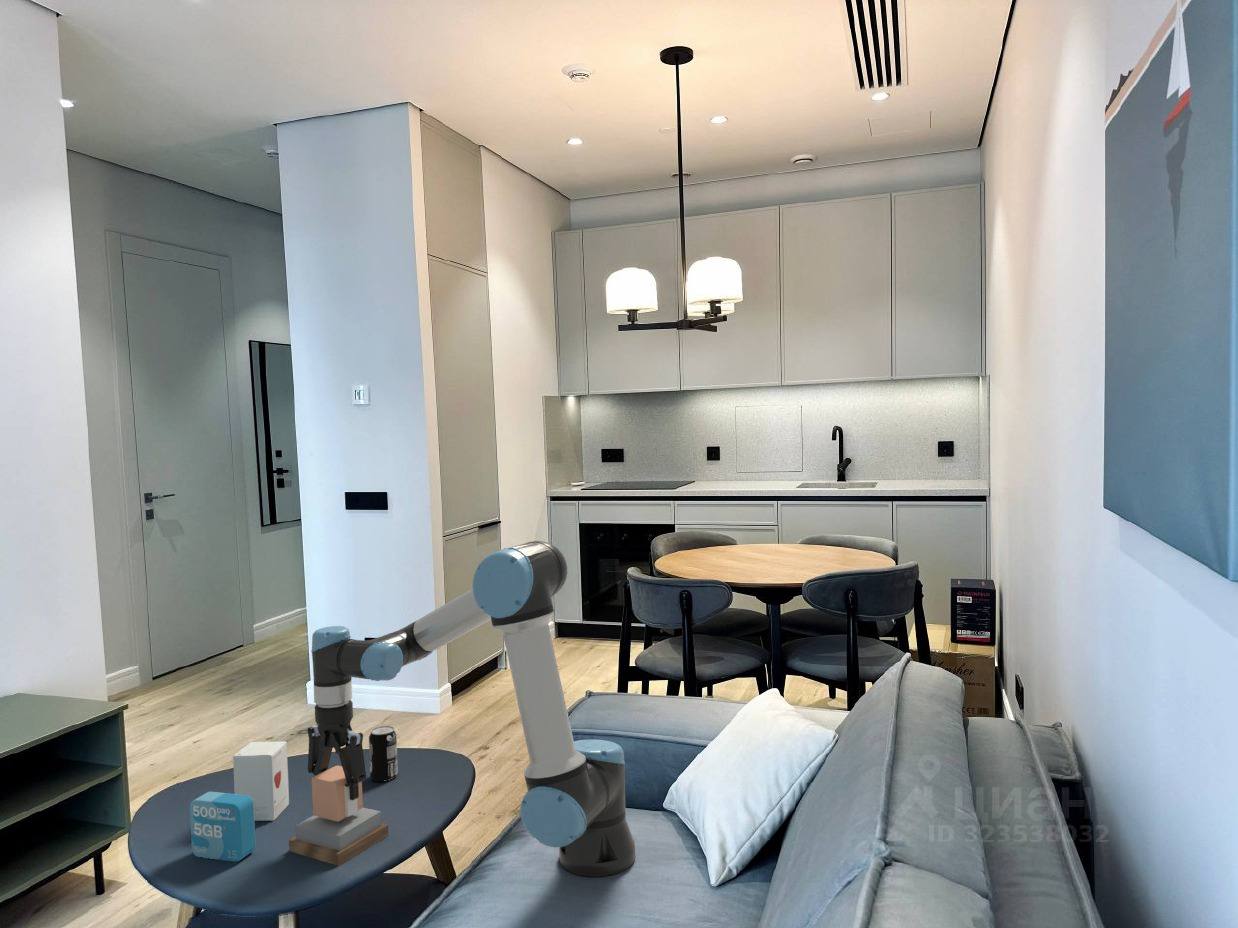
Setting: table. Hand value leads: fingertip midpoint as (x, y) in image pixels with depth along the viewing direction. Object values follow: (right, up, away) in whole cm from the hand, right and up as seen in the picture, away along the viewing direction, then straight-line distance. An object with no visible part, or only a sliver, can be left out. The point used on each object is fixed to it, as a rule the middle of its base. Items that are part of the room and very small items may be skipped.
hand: (338, 810), depth 183 cm
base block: (0, -8, 0) cm, 8 cm away
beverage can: (0, -6, +34) cm, 35 cm away
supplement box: (-22, -7, +16) cm, 28 cm away
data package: (-22, -8, -3) cm, 24 cm away
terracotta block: (0, 0, 0) cm, 0 cm away
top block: (0, -5, 0) cm, 5 cm away
